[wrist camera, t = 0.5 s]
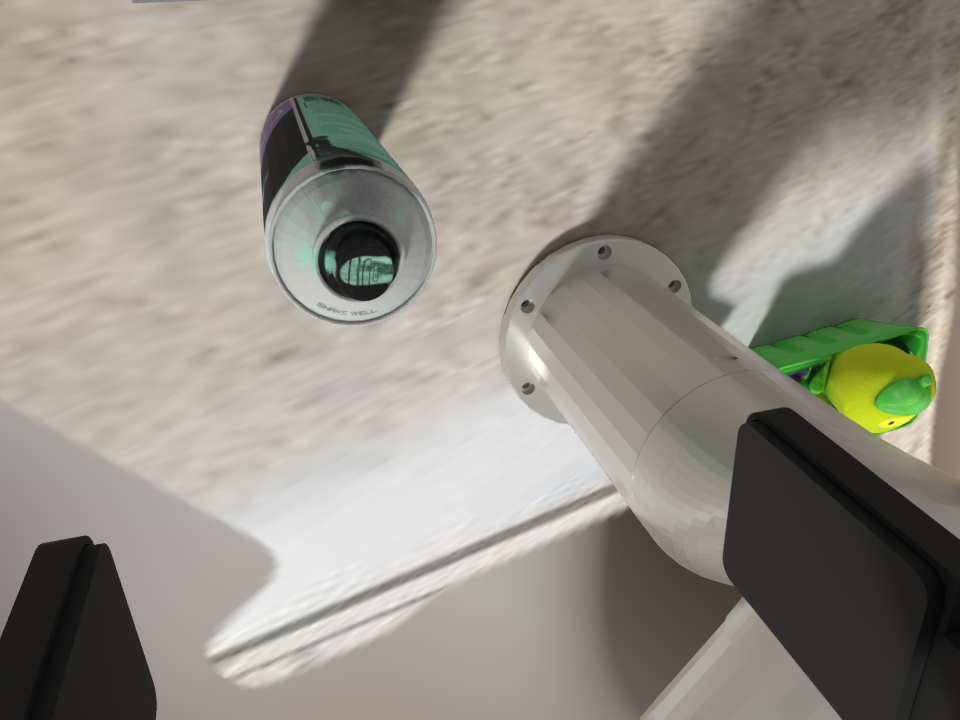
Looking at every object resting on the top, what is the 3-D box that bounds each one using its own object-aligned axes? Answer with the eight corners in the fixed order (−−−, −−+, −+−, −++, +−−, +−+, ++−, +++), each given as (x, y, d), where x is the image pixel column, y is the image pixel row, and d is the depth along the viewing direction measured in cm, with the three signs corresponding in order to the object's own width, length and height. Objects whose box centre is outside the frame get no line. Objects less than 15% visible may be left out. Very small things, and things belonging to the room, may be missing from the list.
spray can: (238, 123, 38) (226, 237, 20) (336, 73, 38) (407, 143, 21) (294, 219, 41) (327, 391, 23) (386, 171, 41) (486, 307, 23)
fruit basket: (728, 431, 55) (831, 527, 45) (727, 322, 51) (840, 401, 41) (866, 389, 57) (994, 472, 47) (876, 280, 53) (1018, 346, 43)
